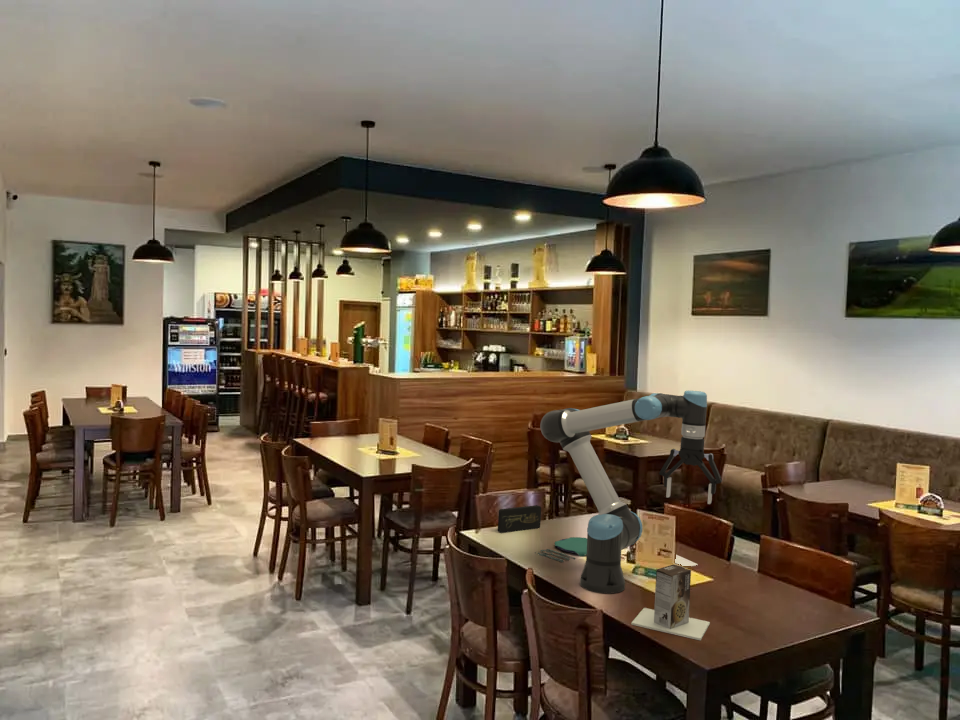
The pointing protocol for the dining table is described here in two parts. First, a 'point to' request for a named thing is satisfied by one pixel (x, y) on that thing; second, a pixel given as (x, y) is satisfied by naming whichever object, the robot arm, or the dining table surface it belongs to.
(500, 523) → the nameplate
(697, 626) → the mat
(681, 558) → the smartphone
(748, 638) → the dining table surface
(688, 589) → the coffee box
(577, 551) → the cutlery set
